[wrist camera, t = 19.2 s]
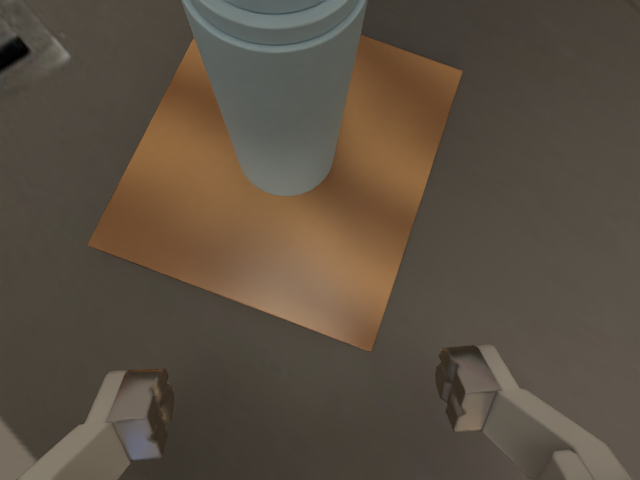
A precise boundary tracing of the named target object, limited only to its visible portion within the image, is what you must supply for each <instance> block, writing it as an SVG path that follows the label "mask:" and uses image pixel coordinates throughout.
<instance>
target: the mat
mask: <svg viewBox="0 0 640 480" xmlns="http://www.w3.org/2000/svg"><path fill="white" fill-rule="evenodd" d="M461 75H462V71H461V70H458V69H455V68H453V67H450V66H447V65H444V64H441V63H439V62H436V61H433V60H430V59H427V58H425V57H422V56H419V55H416V54H413V53H411V52H408V51H405V50H402V49H399V48H397V47H394V46H391V45H388V44H385V43H383V42H380V41H377V40H374V39H371V38H369V37H366V36H363V35H360V39H359V44H358V49H357V53H356V58H355V62H354V67H353V72H352V76H351V81H350V86H349V90H348V95H347V100H346V104H345V109H344V114H343V118H342V123H341V128H340V132H339V137H338V142H337V146H336V151H335V156H334V160H333V164H332V167H331V169H330V171H329V173H328V175H327V176H326V177H325V179H324V180H323V181H322V182H321V183H320V184H319V185H318V186H316V187H315V188H313V189H312V190H310V191H308V192H306V193H303V194H300V195H295V196H278V195H273V194H270V193H267V192H265V191H262V190H261V189H259V188H257V187H256V186H255V185H254V184H252V183H251V182H250V181H249V180H248V179H247V177H246V176H245V174H244V173H243V171H242V169H241V167H240V164H239V161H238V158H237V156H236V153H235V150H234V147H233V144H232V142H231V139H230V136H229V133H228V130H227V128H226V125H225V122H224V119H223V116H222V114H221V111H220V108H219V105H218V103H217V100H216V97H215V94H214V91H213V89H212V86H211V83H210V80H209V77H208V75H207V72H206V69H205V66H204V63H203V61H202V58H201V55H200V52H199V49H198V47H197V44H196V41H195V38H193V40H192V42H191V44H190V46H189V48H188V50H187V52H186V54H185V56H184V58H183V60H182V61H181V63H180V65H179V67H178V69H177V71H176V73H175V75H174V77H173V79H172V81H171V83H170V85H169V87H168V89H167V91H166V93H165V95H164V96H163V98H162V100H161V102H160V104H159V106H158V108H157V110H156V112H155V114H154V116H153V118H152V120H151V122H150V124H149V126H148V128H147V130H146V131H145V133H144V135H143V137H142V139H141V141H140V143H139V145H138V147H137V149H136V151H135V153H134V155H133V157H132V159H131V161H130V163H129V165H128V166H127V168H126V170H125V172H124V174H123V176H122V178H121V180H120V182H119V184H118V186H117V188H116V190H115V192H114V194H113V196H112V198H111V200H110V201H109V203H108V205H107V207H106V209H105V211H104V213H103V215H102V217H101V219H100V221H99V223H98V225H97V227H96V229H95V231H94V233H93V235H92V236H91V238H90V240H89V242H88V244H87V245H88V246H90V247H93V248H96V249H98V250H101V251H103V252H106V253H109V254H111V255H114V256H117V257H119V258H122V259H125V260H127V261H130V262H133V263H135V264H138V265H141V266H143V267H146V268H149V269H151V270H154V271H157V272H159V273H162V274H164V275H167V276H170V277H172V278H175V279H178V280H180V281H183V282H186V283H188V284H191V285H194V286H196V287H199V288H202V289H204V290H207V291H210V292H212V293H215V294H218V295H220V296H223V297H226V298H228V299H231V300H233V301H236V302H239V303H241V304H244V305H247V306H249V307H252V308H255V309H257V310H260V311H263V312H265V313H268V314H271V315H273V316H276V317H279V318H281V319H284V320H287V321H289V322H292V323H294V324H297V325H300V326H302V327H305V328H308V329H310V330H313V331H316V332H318V333H321V334H324V335H326V336H329V337H332V338H334V339H337V340H340V341H342V342H345V343H348V344H350V345H353V346H356V347H358V348H361V349H363V350H366V351H369V352H372V349H373V346H374V343H375V340H376V337H377V334H378V331H379V328H380V325H381V322H382V319H383V315H384V312H385V309H386V306H387V303H388V300H389V297H390V294H391V291H392V288H393V285H394V282H395V279H396V275H397V272H398V269H399V266H400V263H401V260H402V257H403V254H404V251H405V248H406V245H407V242H408V238H409V235H410V232H411V229H412V226H413V223H414V220H415V217H416V214H417V211H418V208H419V205H420V202H421V198H422V195H423V192H424V189H425V186H426V183H427V180H428V177H429V174H430V171H431V168H432V165H433V161H434V158H435V155H436V152H437V149H438V146H439V143H440V140H441V137H442V134H443V131H444V128H445V125H446V121H447V118H448V115H449V112H450V109H451V106H452V103H453V100H454V97H455V94H456V91H457V88H458V84H459V81H460V78H461Z"/></svg>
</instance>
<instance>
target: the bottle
mask: <svg viewBox="0 0 640 480" xmlns="http://www.w3.org/2000/svg"><path fill="white" fill-rule="evenodd" d="M181 2H182V5H183V7H184V10H185V13H186V16H187V19H188V21H189V24H190V27H191V30H192V33H193V35H194V38H195V41H196V44H197V47H198V49H199V52H200V55H201V58H202V61H203V63H204V66H205V69H206V72H207V75H208V77H209V80H210V83H211V86H212V89H213V91H214V94H215V97H216V100H217V103H218V105H219V108H220V111H221V114H222V116H223V119H224V122H225V125H226V128H227V130H228V133H229V136H230V139H231V142H232V144H233V147H234V150H235V153H236V156H237V158H238V161H239V164H240V167H241V169H242V171H243V173H244V174H245V176H246V177H247V179H248V180H249V181H250V182H251V183H252V184H254V185H255V186H256V187H257V188H259V189H261V190H262V191H265V192H267V193H270V194H273V195H278V196H295V195H300V194H303V193H306V192H308V191H310V190H312V189H313V188H315V187H316V186H318V185H319V184H320V183H321V182H322V181H323V180H324V179H325V177H326V176H327V175H328V173H329V171H330V169H331V167H332V164H333V160H334V156H335V151H336V146H337V142H338V137H339V132H340V128H341V123H342V118H343V114H344V109H345V104H346V100H347V95H348V90H349V86H350V81H351V76H352V72H353V67H354V62H355V58H356V53H357V49H358V44H359V39H360V35H361V30H362V25H363V21H364V16H365V11H366V7H367V2H368V0H181Z"/></svg>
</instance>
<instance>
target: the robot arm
mask: <svg viewBox="0 0 640 480" xmlns="http://www.w3.org/2000/svg"><path fill="white" fill-rule="evenodd" d="M439 358H440V360H441V363H440V364H439V365H438V366H437V367H436V373H435V378H436V386H437V390H438V393H439V395H440V398H441V399H442V400H444V401H445V402H446V403H447V404H448V405H447V408H446V413H447V416H448V418H449V421H450V423H451V426H452V428H453V431H454V432H464V431H481V430H483V431H482V432H483V433H484V434H485V435H486V436H487V437H488V438H489V439H490V440H491V441H492V442H493V443H494V444H495V445H496V446H497V447H498V448H499V449H500V450H501V451H502V452H503V453H504V454H505V455H506V456H507V457H509V458H510V459H511V460H512V461H513V462H514V463H515V464H516V465H517V466H518V467H519V468H520V469H521V470H522V471H523V472H524V473H525V474H526V475H527V476H528V477H529V478H530V479H531V480H632V479H631V478H630V476H629V475H628V473H627V472H626V471H625V469H624V468H623V466H622V465H621V463H620V462H619V461H618V459H617V458H616V456H615V455H614V454H613V452H612V451H611V449H610V448H609V447H608V445H606V444H605V443H604V442H602V441H601V440H599V439H598V438H596V437H595V436H593V435H592V434H590V433H589V432H588V431H586V430H585V429H583V428H582V427H580V426H579V425H577V424H576V423H574V422H573V421H571V420H570V419H569V418H567V417H566V416H564V415H563V414H561V413H560V412H558V411H557V410H555V409H554V408H552V407H551V406H550V405H548V404H547V403H545V402H544V401H542V400H541V399H539V398H538V397H536V396H535V395H534V394H532V393H531V392H529V391H528V390H526V389H520V388H519V386H518V384H517V383H516V381H515V379H514V378H513V376H512V374H511V373H510V371H509V370H508V368H507V366H506V365H505V363H504V361H503V360H502V358H501V356H500V355H499V353H498V351H497V350H496V348H495V347H494V346H493V345H492V344H489V345H475V346H473V345H472V346H460V347H448V348H442V349H441V351H440V355H439ZM168 377H169V376H168V373H167V371H166V369H142V370H123V371H110V372H109V373H108V374H107V375H106V376H105V378H104V381H103V383H102V385H101V387H100V390H99V392H98V394H97V396H96V399H95V401H94V403H93V405H92V408H91V410H90V412H89V415H88V417H87V419H86V421H85V424H80V425H78V426H77V427H75V428H74V429H73V430H72V431H71V432H70V433H69V434H68V435H66V436H65V437H64V438H63V439H62V440H61V441H60V442H58V443H57V444H56V445H55V446H54V447H53V448H52V449H50V450H49V451H48V452H47V453H46V454H45V455H44V456H42V457H41V458H40V459H39V460H38V461H37V462H36V463H35V464H33V465H32V466H31V467H30V468H29V469H28V470H27V471H26V472H24V473H23V474H22V475H21V476H20V477H19V478H17V479H16V480H117V479H118V478H119V477H120V476H121V474H122V473H123V472H124V471H125V469H126V468H127V467H128V466H129V464H130V461H137V460H145V459H154V458H162V456H163V452H164V448H165V444H166V439H167V435H168V434H167V431H166V428H165V426H166V425H167V424H168V423H169V422H170V421H171V419H172V415H173V410H174V393H173V389H172V386H170V385H169V384H167V380H168Z"/></svg>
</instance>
